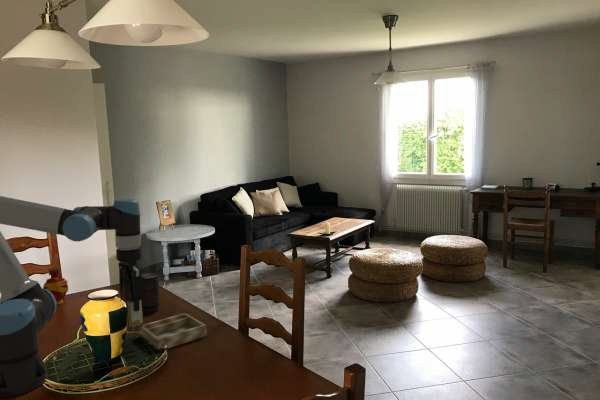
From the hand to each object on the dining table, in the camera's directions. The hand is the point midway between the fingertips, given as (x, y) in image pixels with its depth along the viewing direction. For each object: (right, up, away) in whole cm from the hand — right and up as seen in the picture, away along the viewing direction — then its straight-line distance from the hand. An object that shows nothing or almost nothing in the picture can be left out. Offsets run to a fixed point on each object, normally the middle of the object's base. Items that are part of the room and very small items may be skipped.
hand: (131, 316), depth 151 cm
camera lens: (-7, -8, +40) cm, 41 cm away
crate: (+10, -10, +14) cm, 20 cm away
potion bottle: (-51, -7, +52) cm, 73 cm away
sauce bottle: (0, -4, +1) cm, 4 cm away
